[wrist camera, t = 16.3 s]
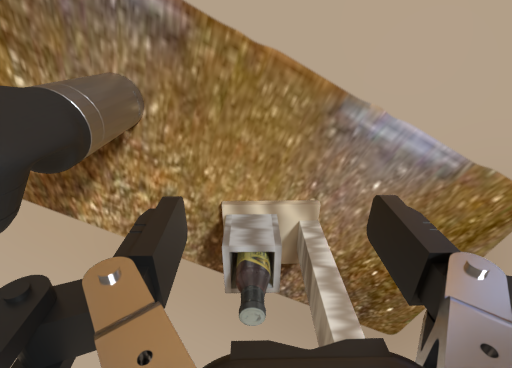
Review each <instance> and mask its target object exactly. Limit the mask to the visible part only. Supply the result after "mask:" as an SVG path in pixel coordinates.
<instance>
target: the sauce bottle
mask: <svg viewBox="0 0 512 368" xmlns="http://www.w3.org/2000/svg"><path fill="white" fill-rule="evenodd" d="M236 273H237V274H236V286H237V288H238V290H239V292H240V293H241V306H240V309H239V318H240V321H241V322H243V323H244V324H246V325H249V326H250V325H251V326H256V325H259V324H261V323H262V322H263V321H264V320H265V316H266V309H265V306H264V296H265V293H266V290H267V287H268V284H269V281H270V278H271V273H270V256H269V252H238V257H237V267H236Z"/></svg>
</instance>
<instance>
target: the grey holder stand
mask: <svg viewBox="0 0 512 368" xmlns="http://www.w3.org/2000/svg"><path fill="white" fill-rule="evenodd" d="M319 211H320V202H319V200H301V201H223V202H222V214H223V229H224V235H223V243H222V255H223V269H224V282H225V293H240V292H239V290H238V288H237V286H236V274H237V273H236V267H237V257H238V252H269V256H270V273H271V278H270V281H269V284H268V287H267V290H266V293H269V292H270V293H275V292H279V289H280V272H281V264H300V267H301V271H302V276H303V280H304V284H305V288H306V293H307V297H308V301H309V306H310V310H311V314H312V318H313V323H314V327H315V331H316V336H317V340H318V344H319V347H322V346H325V345H328V344H331V343H334V342H338V341H341V340H344V339H365V337H364V334H363V332H362V329H361V327H360V324H359V322H358V319H357V317H356V314H355V311H354V309H353V306H352V304H351V301H350V299H349V296H348V294H347V291H346V289H345V286H344V284H343V281H342V279H341V276H340V274H339V271H338V269H337V266H336V264H335V261H334V259H333V256H332V254H331V251H330V249H329V246H328V244H327V241H326V239H325V236H324V233H323V231H322V228H321V226H320V223H319V221H318V219H319Z"/></svg>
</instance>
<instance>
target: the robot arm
mask: <svg viewBox="0 0 512 368" xmlns="http://www.w3.org/2000/svg"><path fill="white" fill-rule="evenodd" d="M143 110H144V103H143V99H142V96H141V94H140V92H139V90H138V89H137V87H136V86H135V85H134V84H133V83H132V82H131V81H130V80H128V79H127V78H125V77H124V76H121V75H119V74H114V73H104V74H99V75H92V76H87V77H81V78H75V79H70V80H64V81H58V82H53V83H47V84H42V85H37V86H31V87H25V88H18V87H9V86H0V233H1V232H3V231H4V230H5V229H6V228H7V227H8V226H9V225H10V223H11V222H12V221H13V219H14V218H15V216H16V215H17V213H18V211H19V208H20V205H21V201H22V198H23V194H24V191H25V187H26V184H27V180H28V176H29V173H30V170H31V171H34V172H38V173H46V174H52V173H59V172H62V171H65V170H68V169H69V168H71V167H73V166H74V165H76V164H77V163H79V162H80V161H82V160H83V159H85V158H86V157H88V156H89V155H91V154H92V153H94V152H95V151H96V150H98V149H99V148H101V147H102V146H104V145H105V144H107V143H108V142H110V141H111V140H113V139H114V138H116V137H117V136H119V135H120V134H122V133H123V132H125V131H127V130H128V129H130V128H131V127H133V126H134V125H135V124H137V123H138V122H139V120H140V119H141V117H142V115H143ZM367 236H368V239H369V241H370V243H371V244H372V246H373V248H374V249H375V251H376V253H377V254H378V256H379V257H380V259H381V261H382V262H383V264H384V265H385V267H386V269H387V270H388V272H389V274H390V275H391V277H392V278H393V280H394V282H395V283H396V285H397V286H398V288H399V290H400V291H401V293H402V295H403V296H404V298H405V299H406V301H407V303H408V304H409V306H412V305H424V306H425V307H426V309H427V310H426V312H425V315H424V318H423V324H422V329H421V334H420V340H419V345H418V351H417V357H416V361H415V362H414V361H412V360H410V359H408V358H405V357H403V356H400V355H398V354H395V353H392V352H389V350H388V348H387V346H386V344H385V342H384V339H383V338H374V339H373V338H370V339H344V340H341V341H338V342H334V343H331V344H328V345H325V346H322V347H318V348H315V349H311V350H308V349H302V348H298V347H294V346H290V345H286V344H282V343H277V342H273V341H268V340H267V341H231V354H229V355H226V356H223V357H221V358H219V359H216V360H214V361H212V362H211V363H209V364H207V365H206V366H204V367H203V368H512V276H507V275H505V273H504V272H503V271H502V270H501V269H500V268H499V267H498V266H496V265H495V264H494V263H492V262H491V261H489V260H487V259H485V258H483V257H480V256H478V255H475V254H471V253H465V252H461V251H459V250H458V249H457V248H456V247H455V246H454V245H453V244H452V243H451V242H450V241H449V240H448V239H447V238H446V237H445V236H444V235H443V234H442V233H441V232H440V231H439V230H437V228H436V227H435V226H434V225H433V224H432V223H430V222H429V221H428V220H427V219H426V218H425V217H424V216H423V215H422V214H421V213H419V212H418V211H416V210H414V209H412V208H411V207H407V206H406V205H405V203H404V202H403V201H402V200H401V199H400V198H399V197H398V196H396V195H376V196H375V197H374V199H373V202H372V207H371V211H370V215H369V219H368V224H367ZM186 241H187V222H186V215H185V208H184V201H183V198H182V197H181V196H180V197H162V199H161V200H160V202H159V204H158V205H157V207H156V209H148V210H147V211H146V212H144V213H143V214H142V215H140V216H139V218H138V219H137V221H136V222H135V224H134V226H133V227H132V229H131V230H130V233H128V235H127V236H126V238H125V239H124V241H123V242H122V244H121V245H120V247H119V248H118V250H117V251H116V253H115V255H114V256H113V258H109V259H106V260H103V261H101V262H99V263H97V264H95V265H94V266H93V267H91V268H90V269H89V270H88V271H87V272H86V274H85V275H84V277H83V279H80V280H77V281H73V282H68V283H65V284H60V285H56V286H52V284H51V282H50V280H49V279H48V278H47V277H45V276H43V275H30V276H26V277H23V278H20V279H17V280H15V281H13V282H10V283H8V284H7V285H5V286H3V287H2V288H0V368H10V367H11V365H12V364H13V363H14V364H13V365H12V367H11V368H71V366H72V364H73V362H74V360H75V358H76V357H77V356H80V355H83V354H86V353H89V352H92V351H95V350H97V353H98V357H99V360H100V364H101V368H196V366H195V364H194V362H193V361H192V359H191V357H190V355H189V353H188V351H187V350H186V348H185V346H184V344H183V343H182V341H181V339H180V337H179V335H178V333H177V332H176V330H175V328H174V326H173V325H172V323H171V321H170V319H169V317H168V316H167V314H166V312H165V310H164V308H165V306H166V303H167V300H168V297H169V294H170V291H171V288H172V285H173V282H174V278H175V275H176V272H177V269H178V266H179V263H180V260H181V257H182V254H183V251H184V248H185V245H186ZM16 358H17V359H16ZM15 360H16V361H15ZM14 361H15V362H14Z"/></svg>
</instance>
